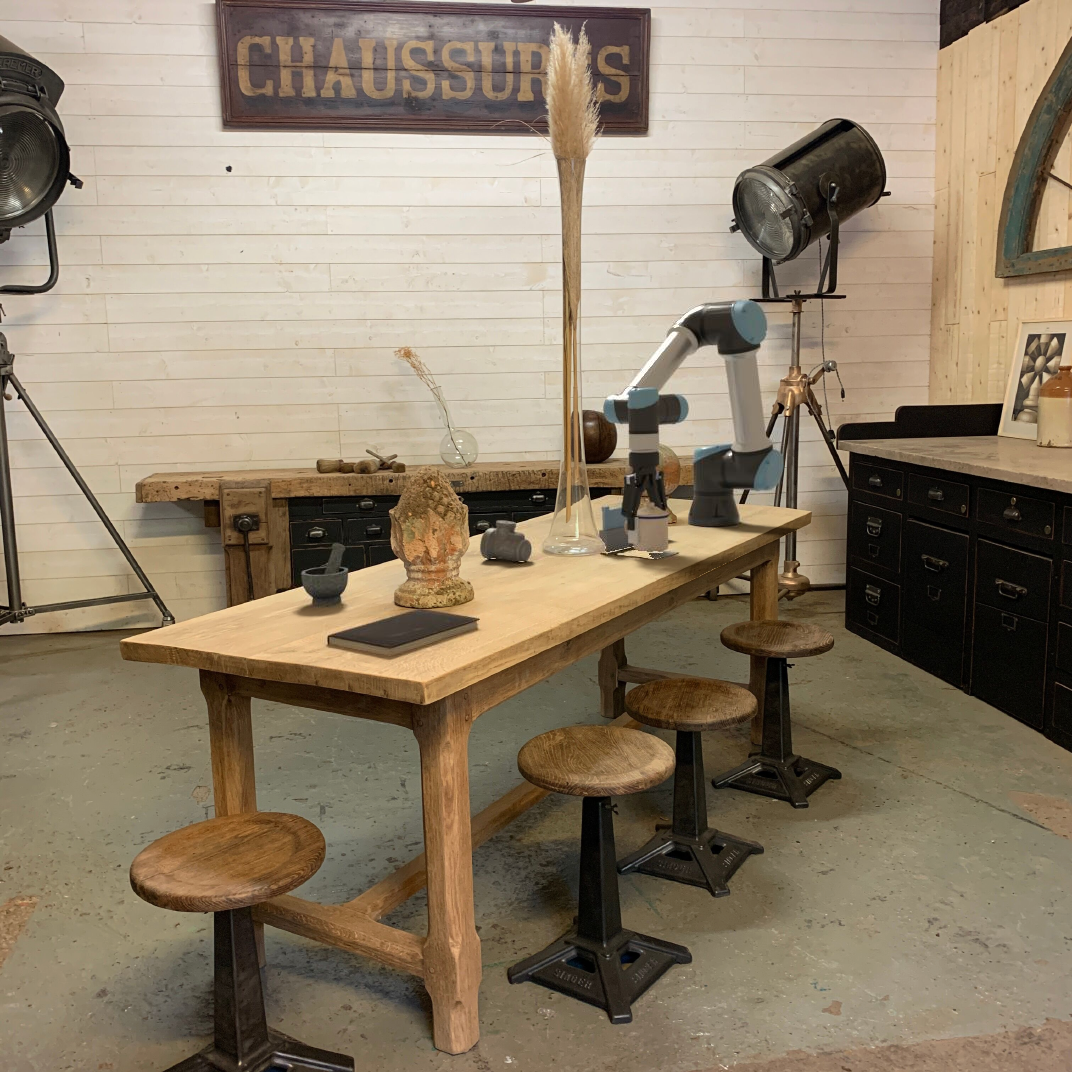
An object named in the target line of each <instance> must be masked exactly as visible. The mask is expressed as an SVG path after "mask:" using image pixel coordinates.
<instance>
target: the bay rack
mask: <svg viewBox="0 0 1072 1072" xmlns="http://www.w3.org/2000/svg"><path fill="white" fill-rule="evenodd" d="M598 535H599V536H598V538H599V537H600V538H601V539H602V541H603V542H604V543H605V546H606V549H605V551H606V552H610V551H615V550H619V549H624V548H627V547H632V546H634V544H633V543H628V535H627V534H626V532H625V528H624V526H623V527H619V528H615V529H610V530H606V531H605V530H603V529H599V530H598ZM658 552H663V553H649V555H651V556H650V557H652V558H654V559H657V558H660V557H664V558H666V557H665V556H668V557H670V556H669V555H672V556H674V555H673V554H675V555H678V554H677V553H680V552H679V551H671V550H663V551H658ZM657 560H658V559H657Z"/></svg>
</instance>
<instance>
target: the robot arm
mask: <svg viewBox="0 0 1072 1072" xmlns="http://www.w3.org/2000/svg"><path fill="white" fill-rule="evenodd" d="M767 331H768V321H767V317H766V314H765V311H764V310H763V308H762V307H761V305H759V304H758V303H757V302H756V301H753V300H749V299H748V300H741V299H737V300H728V301H725V300H724V301H717V302H705V303H702V304H699V305H697V306H695V307H692V309H690V310H688V311H687V312H686V313H684V314H683V315H681V316H680V317H679V318H678V319H677V320H676V321H675V322H674V323H673V324H672V326H671V327H670V328H669V329H668V330H667V332H666V338H665V339H664V340H663V342H662V343H661V345H659V347H658V348H657V350H655V352H654V353H653V354H652V355H651V356H650V357H649V359H648V360H647V361H646V363H645V364H644V365H643V366H642V367H641V369H640V370H639V371H638V372H637V374H635V376H634V377H633V379H631V380H630V382H629V384H628V385H627V386H626V387H625V388H624V389H623V391H621V393H620V394H618V393H616V394H613V395H608V396H607V397H606V398H605V400H604V402H603V405H602V407H603V409H602V411H603V416H604V417H605V419H606V421H607V422H608V423H611V424H619V425H628V450H630V451H629V453H628V465H629V467H631V468H632V471H631V474H629V475H626V474H625V475H624V476H623V483H624V486H623V494H622V502H621V507H622V510H621V515H623V516H624V517H627V529H628V543H633V544H639V518H638V517H636V515H637V511H638V510H639V506H640V504H641V499H642V496H643V493H645V492H646V494H647V496H648V499H649V502H653V503H654V506H655V507H658V508H660V509H661V510H663V511H666V509H667V508H668V500H667V496H666V488H665V481H664V477H665V476H664V475H665V472H664V470H657V469H656V468H657V467H659V466H660V452H659V451H658V450H659V449H660V429H659V427H660V426H661V425H662V426H663V425H664V426H666V425H676V424H678V423H679V424H680V423H681V422H684V421H685V420H686V419H687V417H688V415H689V411H690V409H689V402H688V400H687V399H686V398H685V397H684V396H683V395H682V394H677V393H668V394H659V392H660V391H661V390H662V388H664V386H665V385H666V383H667V382H668V381H669V380H670V378H671V377H672V376H673V375H674V374H675V372H676V371H677V370H678V368H679V367H680V366H681V365H682V363H683V362H684V361H685V359H687V357H688V356H692V355H694V354H695V353H696V352H697V350H698V349H700V348H703V347H707V346H716V348H717V354H718V356H720V357H721V358H723V360H724V364H725V372H726V379H727V387H728V394H729V395H728V396H729V402H730V409H731V410H730V411H731V416H732V424H733V431H734V439H735V441H734V443H727V444H726V443H725V444H718V445H710V446H709V445H708V446H703V447H702V446H701V447H697V448H696V449H695V450H694V452H693V461H692V466H693V499H692V502H691V506H690V507H689V508H690V509H689V511H688V516H687V521H688V522H687V523H688V524H689V525H692V526H699V527H700V526H701V527H727V526H734V525H738V524H740V520H741V518H740V513H739V510H738V506H737V502H736V500H735V496H734V490H744V491H745V490H747V491H755V492H761V491H762V492H765V491H770V490H771V491H772V490H773V489H774V488H776V487H777V486H778V484H779V482H780V480H781V478H782V476H783V471H784V456H783V455H782V453H781V451H779V450H777V449H774V444H773V440H771V438H770V437H768V436H767V433H766V425H765V415H764V408H763V400H762V390H761V385H760V377H759V376H760V375H759V368H758V360H757V353H758V352H759V351H760V349H761V348H762V347H761V346H762V345H761V343H762V342H763V341H765V339H766V337H767ZM626 510H627V511H626Z"/></svg>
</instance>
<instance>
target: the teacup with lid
mask: <svg viewBox="0 0 1072 1072" xmlns="http://www.w3.org/2000/svg"><path fill="white" fill-rule="evenodd" d="M645 505H646V506H643V507H641V508H640V509H638V511H637V515H636V517H638V518H639V544H634V548H633V549H635V550H638V551H647V552H653V551H667V550H668V549H669V516H670V514H669V512H668V511H663V510H661V509H660V508H658V507H655V506H654V503H653V502H650V501H649V502H646V504H645ZM624 528H625V532H626V534H627V535H628V529H627V521H626V522H625V524H624Z"/></svg>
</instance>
